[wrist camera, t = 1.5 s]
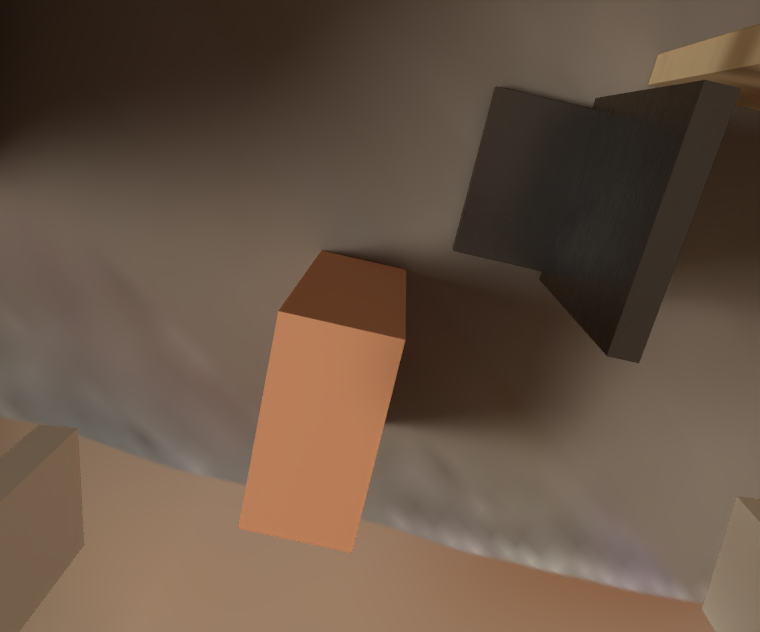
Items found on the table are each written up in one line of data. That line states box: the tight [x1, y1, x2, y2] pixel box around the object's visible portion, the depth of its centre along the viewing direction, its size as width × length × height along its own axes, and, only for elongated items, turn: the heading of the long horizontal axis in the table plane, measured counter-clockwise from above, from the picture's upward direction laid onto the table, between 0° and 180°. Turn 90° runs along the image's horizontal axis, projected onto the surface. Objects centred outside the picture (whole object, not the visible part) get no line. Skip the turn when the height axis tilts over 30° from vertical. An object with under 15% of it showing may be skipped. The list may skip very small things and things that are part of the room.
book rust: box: [239, 251, 406, 553], centre depth 25 cm, size 4×8×10 cm, turn 167°
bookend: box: [453, 80, 741, 363], centre depth 22 cm, size 5×8×10 cm, turn 167°
